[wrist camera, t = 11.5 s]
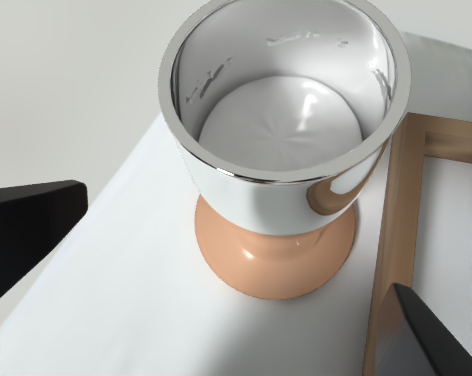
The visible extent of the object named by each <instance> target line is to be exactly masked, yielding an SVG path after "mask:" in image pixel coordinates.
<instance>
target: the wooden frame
mask: <svg viewBox="0 0 472 376" xmlns="http://www.w3.org/2000/svg"><path fill="white" fill-rule="evenodd" d="M424 155H427V156H432V157H438V158H444V159H449V160H455V161H461V162H467V163H472V122H468V121H462V120H455V119H449V118H442V117H435V116H429V115H422V114H416V113H409V112H408V113H407V114H406V116H405V117H404V119H403V120H402V122H401V123H400V125H399V126H398V128H397V130H396V131H395V133H394V134H393V137H392V145H391V153H390V161H389V168H388V176H387V184H386V192H385V199H384V207H383V215H382V223H381V230H380V238H379V246H378V254H377V261H376V269H375V277H374V285H373V292H372V300H371V308H370V316H369V324H368V331H367V339H366V347H365V355H364V362H363V370H362V376H375V354H376V337H377V320H378V310H379V307H380V304H381V302H382V300H383V298H384V296H385V294H386V292H387V290H388V288H389V286H390V284H391V283H393V282H396V283H399V284H402V285H406V286H409V287H410V288H412V277H413V266H414V256H415V245H416V234H417V223H418V212H419V201H420V191H421V180H422V169H423V158H424Z"/></svg>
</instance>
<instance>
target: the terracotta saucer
mask: <svg viewBox="0 0 472 376" xmlns="http://www.w3.org/2000/svg"><path fill="white" fill-rule="evenodd" d="M195 233H196V238H197V242H198V245H199V248H200V250H201V253H202V255H203V257H204V259H205V260H206V262H207V263H208V265H209V266H210V268H211V269H212V270H213V271H214V272H215V273H216V275H217V276H218V277H219V278H220V279H222V280H223V281H224V282H225V283H227V284H228V285H230V286H231V287H233V288H234V289H236V290H238V291H240V292H242V293H244V294H247V295H249V296H253V297H256V298H261V299H268V300H283V299H290V298H295V297H298V296H302V295H305V294H307V293H309V292H311V291H314V290H315V289H317V288H318V287H320V286H322V285H323V284H325V283H326V282H327V281H328V280H329V279H331V278H332V277H333V276H334V275H335V273H336V272H337V271H338V270H339V269H340V267H341V266H342V264H343V263H344V261H345V260H346V258H347V256H348V254H349V252H350V249H351V246H352V243H353V239H354V233H355V213H354V207H353V203H352V204H351V205H350V207H349V208H348V209H347V210H346V211H345V212H344V214H343V215H342V216H341V217H339V218H338V219H337V220H336V221H335V222H333V223H332V224H331V225H329V226H328V227H326V228H325V229H323V230H322V231H321V233H320V236H319V238H318V240H317V242H316V243H315V245H314V246H313V247H312V249H311V250H310V251H309V252H308V253H306V254H305V255H304V256H302V257H300V258H299V259H296V260H294V261H291V262H287V263H270V262H265V261H262V260H260V259H257V258H256V257H254V256H252V255H251V254H249V253H248V252H247V251H246V250H245V249H244V248H243V247H242V246H241V244H240V243H239V241H238V239H237V237H236V235H235V232H234V229H233V228H232V227H231V226H230V225H228V224H227V223H226V222H225V221H223V220H222V219H221V218H220V217H219V216H218V215H217V214H216V213H215V212H214V211H213V210H212V208H211V207H210V206H209V205H208V203H207V202H206V201H205V199H204V198H203V197H202V195H201V194H200V195H199V198H198V201H197V205H196V211H195Z"/></svg>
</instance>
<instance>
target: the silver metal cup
mask: <svg viewBox="0 0 472 376" xmlns="http://www.w3.org/2000/svg"><path fill="white" fill-rule="evenodd" d="M410 88H411V67H410V61H409V56H408V53H407V50H406V47H405V45H404V42H403V40H402V38H401V36H400V34H399V33H398V31H397V30H396V28H395V27H394V25H393V24H392V23H391V22H390V20H389V19H388V18H387V17H386V16H385V15H384V14H383V13H382V12H381V11H380V10H378V8H376V7H375V6H374V5H373V4H371V3H370V2H368V1H367V0H211V1H210V2H208V3H207V4H205V5H204V6H202V7H201V8H200V9H198V10H197V11H196V12H195V13H193V14H192V15H191V16H190V17H189V18H188V19H187V20H186V21H185V22H184V23H183V25H182V26H181V27H180V28H179V30H178V31H177V32H176V33H175V35H174V36H173V38H172V40H171V41H170V43H169V45H168V47H167V49H166V51H165V53H164V56H163V59H162V62H161V66H160V70H159V77H158V95H159V102H160V107H161V111H162V114H163V117H164V119H165V121H166V123H167V125H168V127H169V129H170V131H171V132H172V134H173V136H174V139H175V141H176V144H177V147H178V149H179V152H180V154H181V156H182V159H183V161H184V163H185V166H186V168H187V170H188V172H189V174H190V176H191V178H192V180H193V181H194V183H195V185H196V187H197V189H198V191H199V192H200V194H201V195H202V197H203V198H204V199H205V201H206V202H207V203H208V205H209V206H210V207H211V208H212V210H213V211H214V212H215V213H216V214H217V215H218V216H219V217H220V218H221V219H222V220H223V221H225V222H226V223H227V224H228V225H230V226H231V227H232V228H233V229H234V232H235V235H236V237H237V239H238V241H239V243H240V244H241V246H242V247H243V248H244V249H245V250H246V251H247V252H248V253H249V254H251V255H252V256H254V257H256V258H257V259H260V260H262V261H265V262H270V263H287V262H291V261H294V260H296V259H299V258H300V257H302V256H304V255H305V254H306V253H308V252H309V251H310V250H311V249H312V247H313V246H314V245H315V243H316V242H317V240H318V238H319V236H320V233H321V231H322V230H323V229H325V228H326V227H328V226H329V225H331V224H332V223H333V222H335V221H336V220H337V219H338V218H339V217H341V216H342V215H343V214H344V212H345V211H346V210H347V209H348V208H349V207H350V205H351V204H352V203H353V202H354V201H355V200H356V198H357V197H358V196H359V194H360V193H361V192H362V190H363V188H364V187H365V185H366V183H367V182H368V180H369V178H370V177H371V175H372V174H373V172H374V170H375V168H376V166H377V164H378V162H379V160H380V158H381V156H382V154H383V151H384V149H385V147H386V145H387V143H388V140H389V138H390V136H391V133H392V132H393V130H394V129H395V128H396V126H397V124H398V123H399V121H400V119H401V117H402V115H403V113H404V110H405V108H406V105H407V102H408V98H409V94H410Z"/></svg>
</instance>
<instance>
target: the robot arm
mask: <svg viewBox="0 0 472 376" xmlns="http://www.w3.org/2000/svg"><path fill="white" fill-rule="evenodd" d="M87 210H88V196H87V187H86V185H85V184H84V183H81V182H79V181H76V180H66V181H58V182H50V183H41V184H32V185H24V186H15V187H8V188H0V298H1V297H2V296H3V295H4V294H5V293H6V292H7V291H9V290H10V289H11V288H12V287H13V286H14V285H15V284H16V283H17V282H18V281H20V280H21V279H22V278H23V277H24V276H25V275H26V274H27V273H28V272H29V271H31V269H33V268H34V267H35V266H36V265H37V264H38V263H39V262H40V261H41V260H43V259H44V258H45V257H46V256H47V255H48V254H49V253H50V252H51V251H52V250H53V249H54V248H55V247H56V246H57V245H58V244H59V243H60V242H61V241H62V240H63V238H64V237H65V236H66V235H67V234H68V233H69V232H70V231H71V230H72V228H73V227H74V226H75V225H76V224H77V223H78V222H79V221H80V220H81V219H82V217H83V216H84V215H85V214H86V212H87ZM375 376H472V357H471V355H470V354H469V353H468V352H467V351H466V350H465V349H464V347H463V346H462V345H461V344H460V343H459V342H458V341H457V339H456V338H455V337H454V336H453V335H452V334H451V333H450V331H449V330H448V329H447V328H446V327H445V326H444V325H443V324H442V322H441V321H440V320H439V319H438V318H437V317H436V316H435V314H434V313H433V312H432V311H431V310H430V309H429V308H428V306H427V305H426V304H425V303H424V302H423V301H422V300H421V299H420V297H419V296H418V295H417V294H416V293H415V292H414V291H413V289H412V288H410V287H409V286H406V285H402V284H399V283H396V282H393V283H391V284H390V286H389V288H388V290H387V292H386V294H385V296H384V298H383V300H382V302H381V304H380V307H379V310H378V320H377V337H376V354H375Z"/></svg>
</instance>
